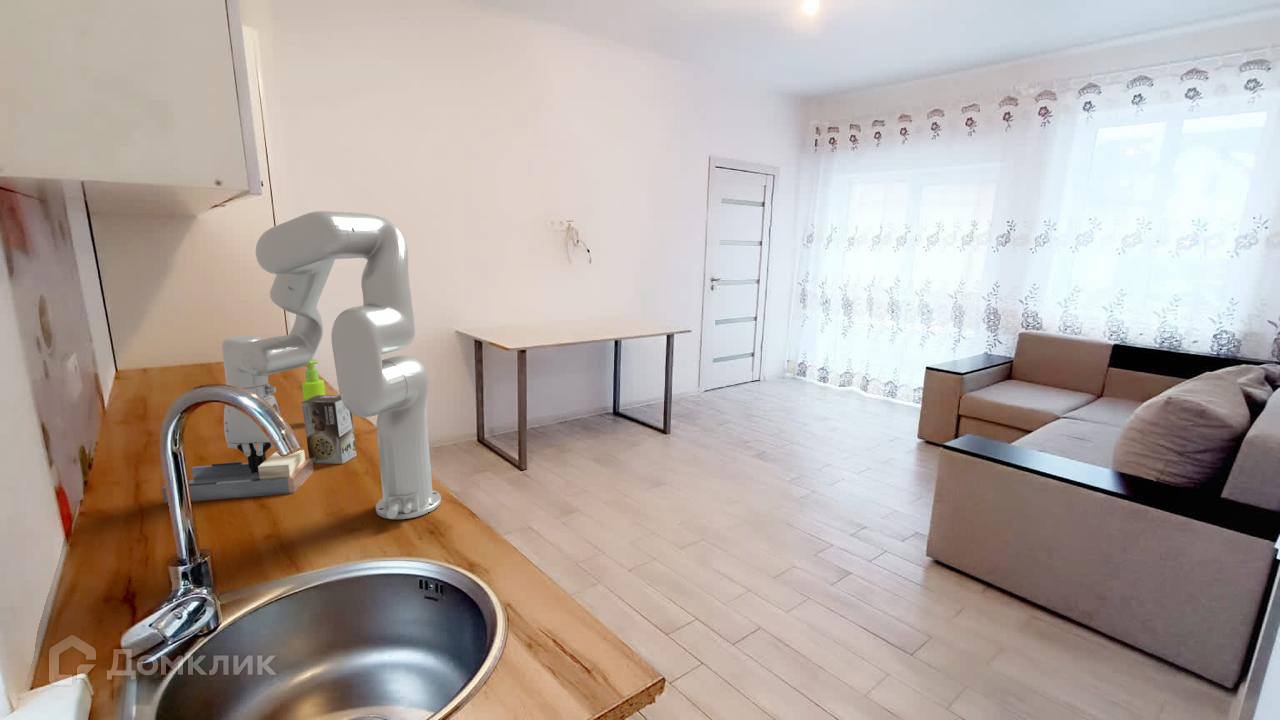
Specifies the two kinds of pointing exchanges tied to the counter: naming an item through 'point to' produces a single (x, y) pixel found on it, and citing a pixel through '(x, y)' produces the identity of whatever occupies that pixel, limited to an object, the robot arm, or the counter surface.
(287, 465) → the block
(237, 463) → the grey shallow rectangular tray
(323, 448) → the coffee box
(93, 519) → the counter surface
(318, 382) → the soap dispenser
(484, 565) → the counter surface
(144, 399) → the counter surface
